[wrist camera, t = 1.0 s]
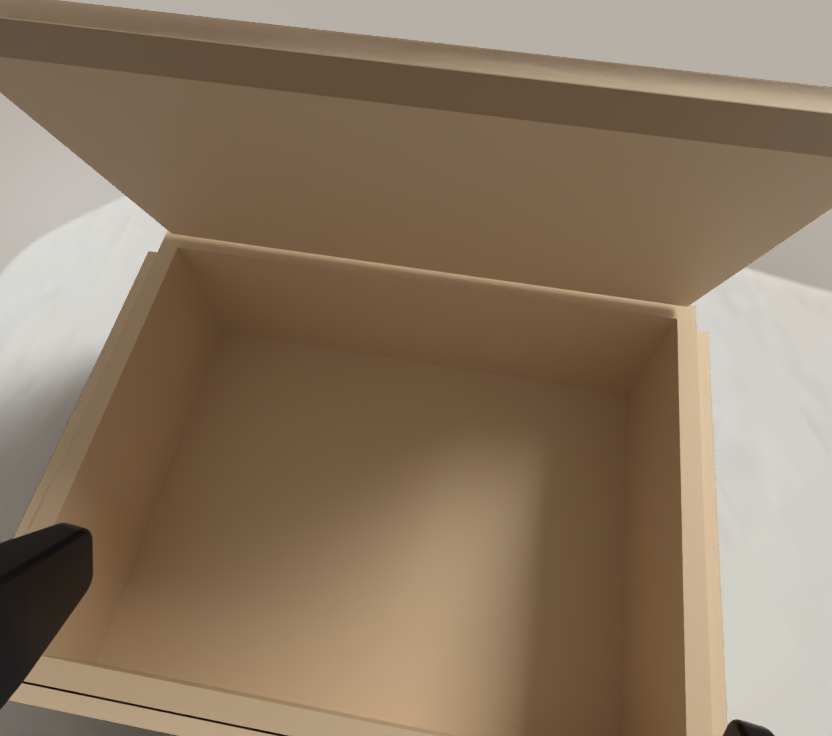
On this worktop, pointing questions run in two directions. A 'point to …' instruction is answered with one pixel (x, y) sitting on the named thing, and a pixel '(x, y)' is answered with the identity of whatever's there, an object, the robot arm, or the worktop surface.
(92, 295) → the worktop surface
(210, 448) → the carton
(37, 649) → the robot arm
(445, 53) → the carton flap
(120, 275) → the worktop surface
